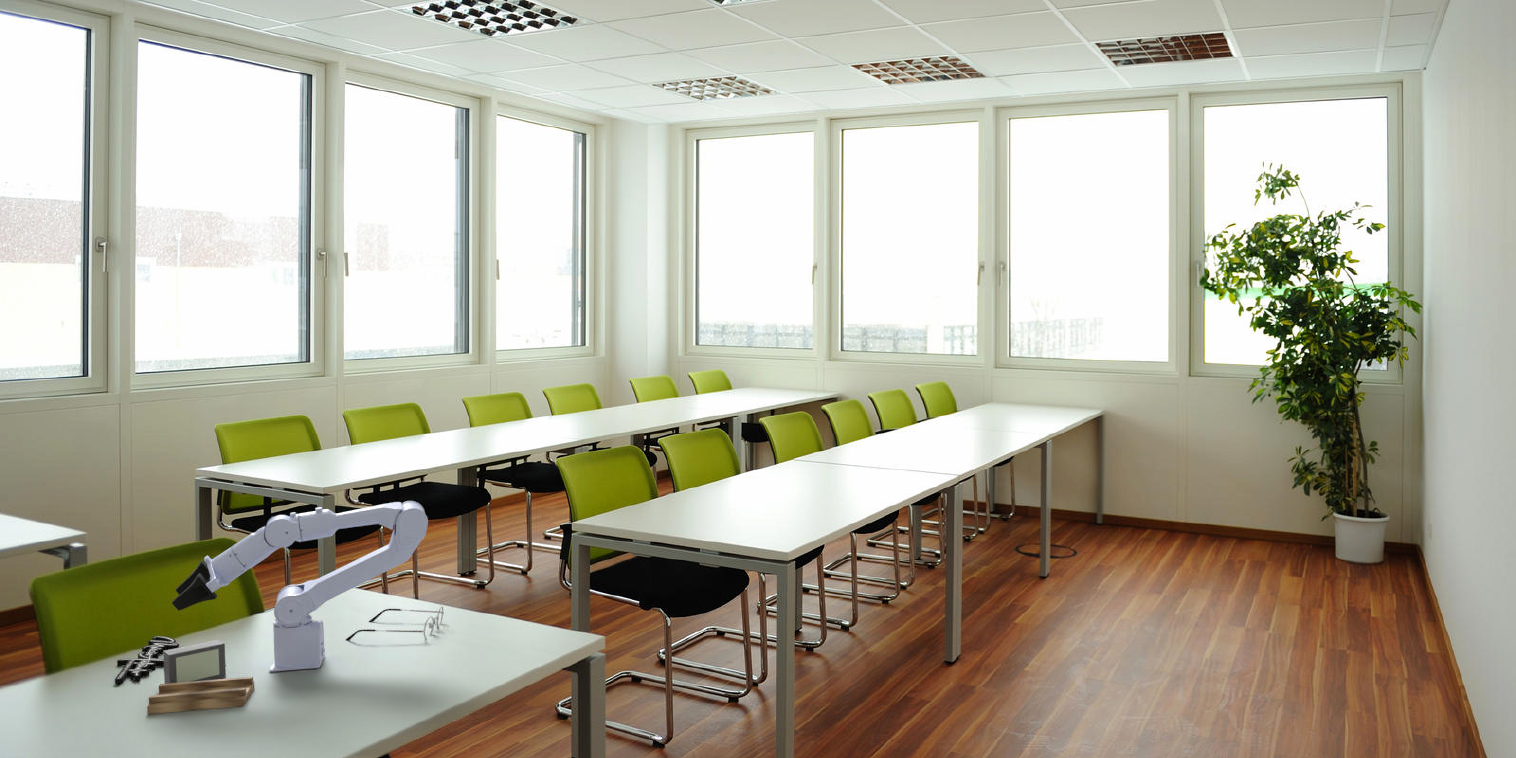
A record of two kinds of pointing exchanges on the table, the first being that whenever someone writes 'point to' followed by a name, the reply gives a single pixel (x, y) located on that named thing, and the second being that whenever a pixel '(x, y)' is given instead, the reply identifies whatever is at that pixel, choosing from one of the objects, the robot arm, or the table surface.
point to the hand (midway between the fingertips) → (177, 600)
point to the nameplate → (145, 659)
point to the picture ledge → (201, 695)
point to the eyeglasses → (406, 630)
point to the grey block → (195, 662)
